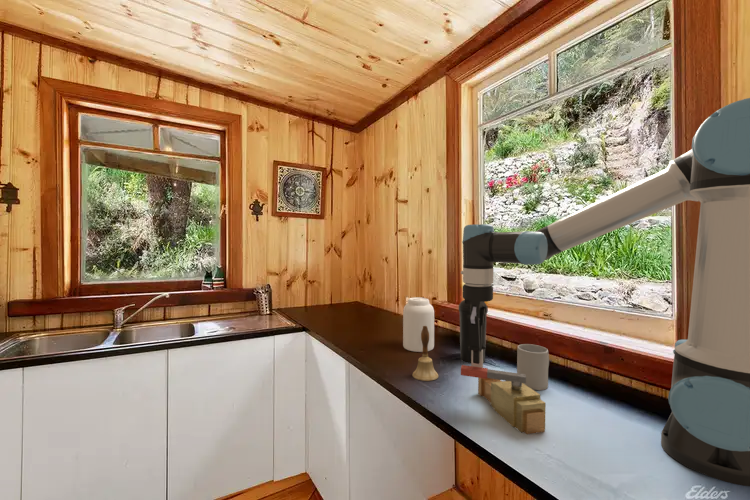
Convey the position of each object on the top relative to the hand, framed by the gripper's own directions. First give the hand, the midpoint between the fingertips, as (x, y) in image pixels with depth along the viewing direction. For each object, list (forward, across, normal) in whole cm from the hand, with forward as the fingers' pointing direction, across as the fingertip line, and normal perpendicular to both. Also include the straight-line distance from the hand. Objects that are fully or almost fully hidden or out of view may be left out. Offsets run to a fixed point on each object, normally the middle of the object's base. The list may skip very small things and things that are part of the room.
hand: (477, 373), depth 86 cm
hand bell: (+9, -12, -18) cm, 24 cm away
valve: (+8, -1, +8) cm, 11 cm away
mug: (+9, -23, +13) cm, 28 cm away
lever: (+1, +2, +4) cm, 5 cm away
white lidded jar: (+10, -37, -30) cm, 49 cm away
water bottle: (+9, -34, -8) cm, 36 cm away
